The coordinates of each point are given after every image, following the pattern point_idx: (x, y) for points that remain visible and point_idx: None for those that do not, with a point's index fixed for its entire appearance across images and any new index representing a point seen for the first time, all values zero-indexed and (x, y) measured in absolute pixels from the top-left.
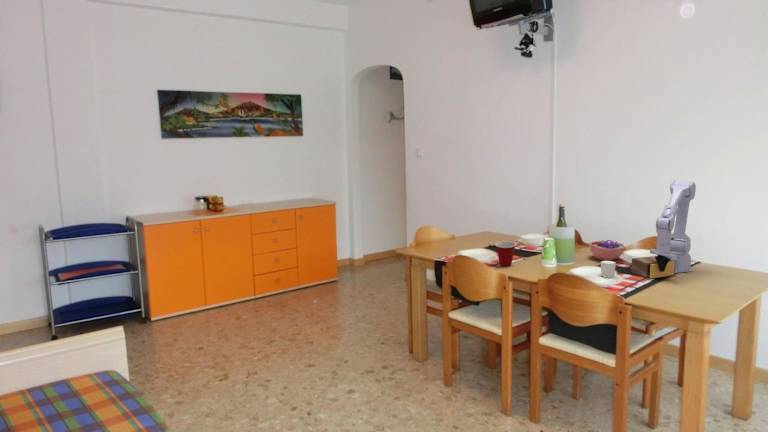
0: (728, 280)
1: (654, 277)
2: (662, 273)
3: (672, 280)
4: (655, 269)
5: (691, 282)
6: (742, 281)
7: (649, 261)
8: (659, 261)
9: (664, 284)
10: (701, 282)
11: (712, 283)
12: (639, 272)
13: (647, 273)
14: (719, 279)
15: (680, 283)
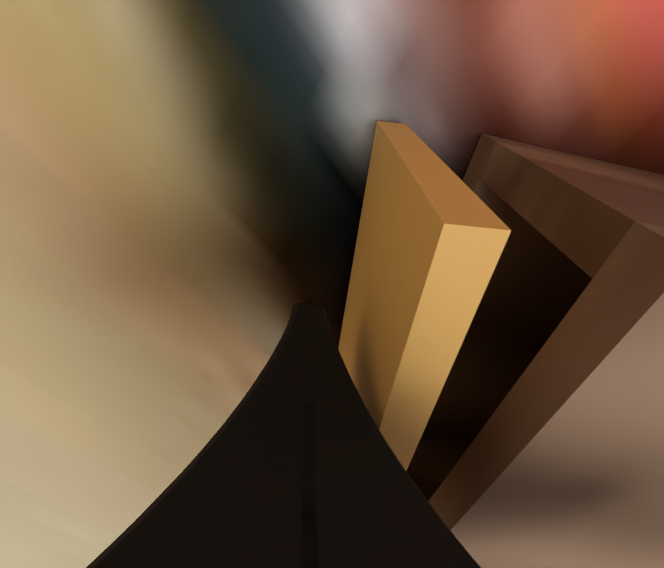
0: (78, 540)
1: (365, 198)
2: (345, 347)
3: (195, 303)
4: (377, 276)
5: (71, 380)
6: (43, 560)
7: (653, 439)
8: (283, 495)
9: (21, 18)
10: (57, 430)
11: (14, 459)
12: (653, 177)
13: (496, 180)
14: (112, 528)
15: (49, 275)
